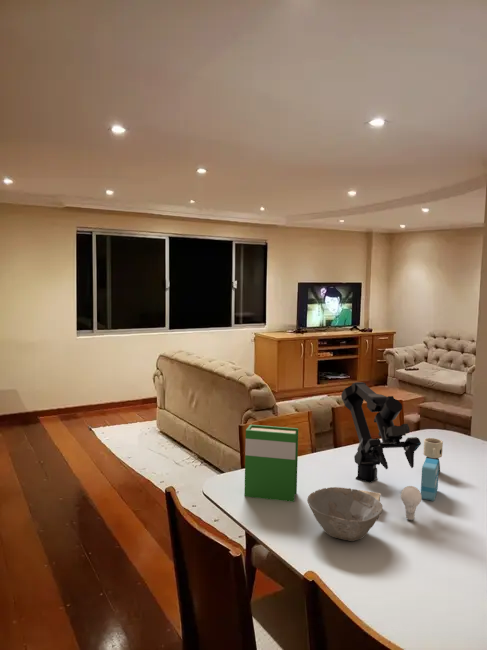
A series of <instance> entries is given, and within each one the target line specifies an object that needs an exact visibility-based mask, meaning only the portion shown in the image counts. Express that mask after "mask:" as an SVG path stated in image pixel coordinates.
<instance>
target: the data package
mask: <svg viewBox="0 0 487 650" xmlns="http://www.w3.org/2000/svg"><path fill="white" fill-rule="evenodd" d="M439 462H440V459H439V460H436V459H430V458H426V457H425V460H424V461H423V464H422V466H421V467H422V468H421V483H420V493H421V496H422V499H421V500H426V501H427V500H428V501H432V502H433V501H435V499H436V496H437V493H438V490H439V489H438V488H439V487H438V485H439V474H440V472H439Z"/></svg>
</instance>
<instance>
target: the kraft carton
mask: <svg viewBox="0 0 487 650" xmlns="http://www.w3.org/2000/svg"><path fill="white" fill-rule="evenodd" d="M359 490H360V491H362V492H364V493H367V494H369V495H371V496H373V497H375V498H376V499H377V500H378V501H379V502H380V503H381V493H380V492H376V491H375V492H373V491H368V490H361V489H359Z"/></svg>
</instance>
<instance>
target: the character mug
mask: <svg viewBox="0 0 487 650" xmlns="http://www.w3.org/2000/svg"><path fill="white" fill-rule="evenodd" d="M443 443H444V441H443V440H441V439H438V438H435V437H433V438H432V437H427V438H424V440H423V455H424V456H425V459H426V458H430V459H436V460H439V473H440V472H441V463H440V458H442V456H443V445H444V444H443Z"/></svg>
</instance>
